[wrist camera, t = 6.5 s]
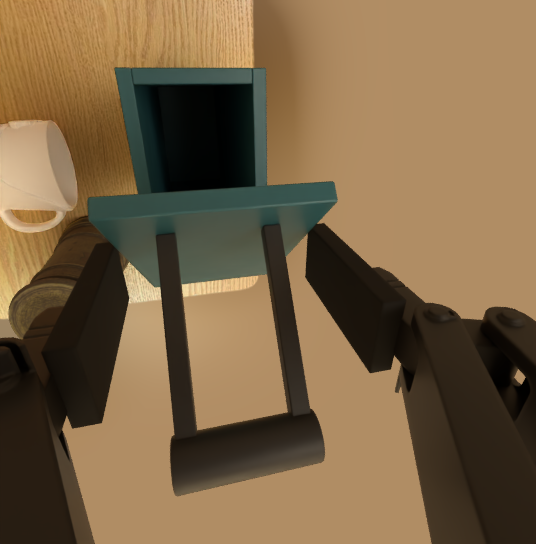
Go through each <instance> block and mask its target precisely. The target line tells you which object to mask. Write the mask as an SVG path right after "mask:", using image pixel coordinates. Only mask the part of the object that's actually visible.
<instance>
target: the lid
mask: <svg viewBox="0 0 536 544" xmlns="http://www.w3.org/2000/svg"><path fill="white" fill-rule="evenodd" d="M337 200H338V199H337V194H336V189H335V184H334V182H333V181H332V182H331V181H330V182H315V183H300V184H285V185H270V186H254V187H239V188H224V189H209V190H193V191H178V192H163V193H148V194H133V195H117V196H102V197H89V198H88V200H87V205H88V219H89V221H90V222H91V223H92V224H93V225H94V226H95V227H96V228H97V229H98V230H99V231H100V232H101V233H102V234H103V235H104V237H105V238H106V239H107V240H108V241H109V242H110V243H111V244H112V245H113V246H114V247H115V248H116V249H117V250H118V251H119V252H120V253H121V254H122V255H123V256H124V257H125V258H126V259H127V260H128V261H129V262H130V263H131V264H132V265H133V266H134V267H135V268H136V269H137V270H138V271H139V272H140V273H141V274H142V275H143V276H144V277H145V278H146V279H147V280H148V281H149V282H150V283H151V284H152V285H153V286H154V287H160V288H161V298H162V309H163V318H164V329H165V339H166V350H167V360H168V371H169V381H170V392H171V402H172V412H173V423H174V434H175V435H174V436H172V438H171V445H170V463H171V476H172V485H173V490H174V493H175V495H176V496H181V495H185V494H189V493H194V492H198V491H201V490H206V489H211V488H215V487H219V486H223V485H228V484H232V483H236V482H240V481H245V480H249V479H253V478H257V477H262V476H266V475H270V474H275V473H279V472H283V471H287V470H292V469H296V468H300V467H304V466H308V465H313V464H317V463H321V462H323V461H324V457H325V447H324V440H323V435H322V431H321V427H320V424H319V421H318V418H317V416H316V414H315V413H314V411H313V410H312V409H310V406H309V400H308V394H307V388H306V381H305V375H304V369H303V363H302V356H301V350H300V344H299V337H298V331H297V325H296V319H295V313H294V306H293V300H292V294H291V288H290V282H289V275H288V269H287V263H286V256H287V255H288V254H289V253H290V252H291V250H292V249H293V248H294V247H295V246H296V245H297V244H298V243H299V242H300V241H301V240H302V239H303V238H304V237H305V236H306V234H307V233H308V232H309V231H310V230H311V229H312V228H313V227H314V226H315V225H316V224H317V223H318V222H319V221H320V220H321V219H322V218H323V216H324V215H325V214H326V213H327V212H328V211H329V210H330V209H331V208H332V207H333V206H334V205H335V203H337ZM265 274H267V276H268V283H269V289H270V296H271V302H272V309H273V316H274V322H275V329H276V335H277V342H278V349H279V356H280V362H281V369H282V376H283V382H284V389H285V396H286V402H287V409H288V413H283V414H278V415H273V416H268V417H263V418H258V419H253V420H248V421H243V422H238V423H233V424H228V425H223V426H218V427H213V428H208V429H203V430H198V431H197V425H196V417H195V406H194V397H193V388H192V380H191V369H190V360H189V352H188V341H187V331H186V323H185V313H184V304H183V294H182V285H181V284H188V283H197V282H206V281H214V280H223V279H231V278H240V277H248V276H257V275H265Z"/></svg>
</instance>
